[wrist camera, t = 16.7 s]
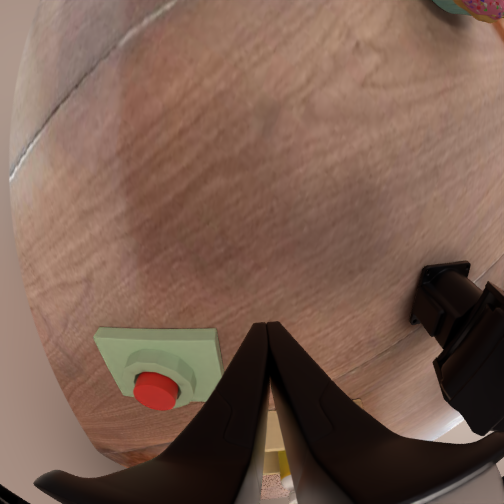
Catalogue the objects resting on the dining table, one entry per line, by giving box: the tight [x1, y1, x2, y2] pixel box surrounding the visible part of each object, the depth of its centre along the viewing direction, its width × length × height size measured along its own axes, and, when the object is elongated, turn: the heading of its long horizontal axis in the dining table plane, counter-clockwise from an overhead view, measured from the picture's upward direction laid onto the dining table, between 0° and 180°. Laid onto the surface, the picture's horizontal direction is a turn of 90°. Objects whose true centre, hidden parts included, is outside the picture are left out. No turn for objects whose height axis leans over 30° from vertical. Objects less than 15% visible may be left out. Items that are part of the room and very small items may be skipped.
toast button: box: [133, 371, 178, 410], centre depth 22 cm, size 4×4×2 cm
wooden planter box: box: [263, 399, 364, 475], centre depth 29 cm, size 16×10×6 cm, turn 93°
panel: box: [93, 327, 224, 408], centre depth 24 cm, size 12×9×4 cm
